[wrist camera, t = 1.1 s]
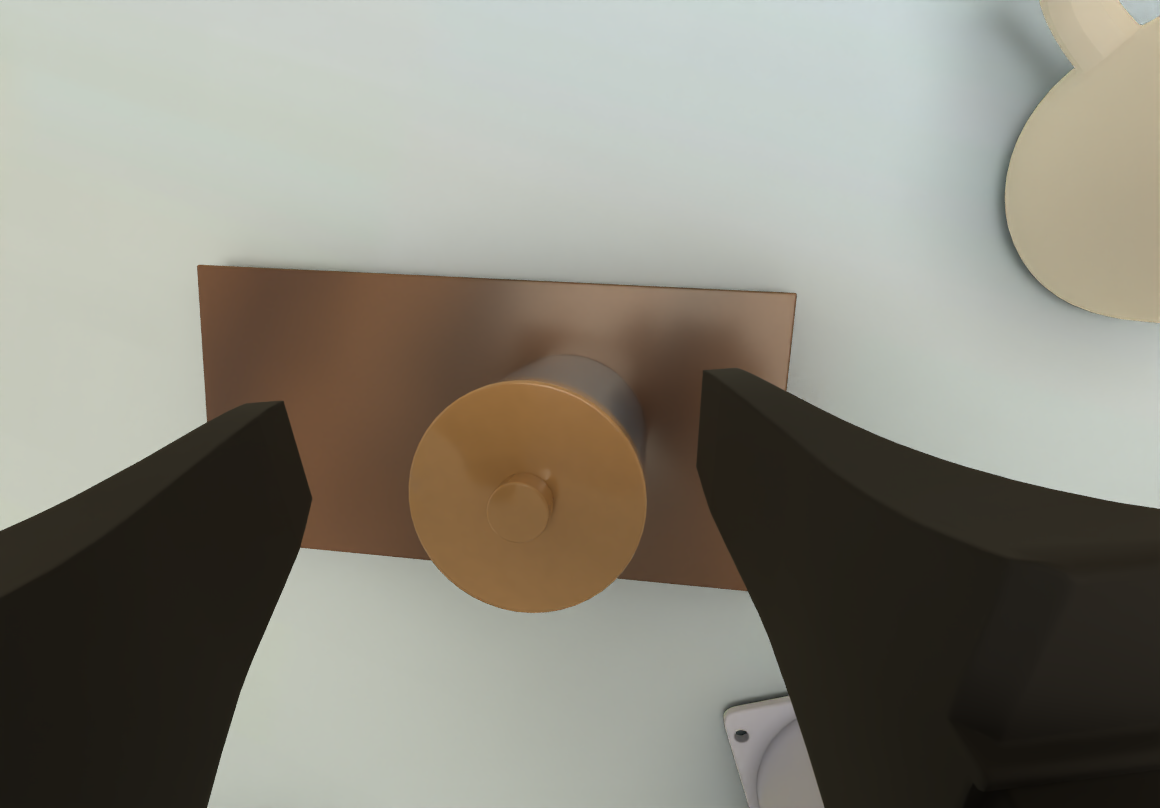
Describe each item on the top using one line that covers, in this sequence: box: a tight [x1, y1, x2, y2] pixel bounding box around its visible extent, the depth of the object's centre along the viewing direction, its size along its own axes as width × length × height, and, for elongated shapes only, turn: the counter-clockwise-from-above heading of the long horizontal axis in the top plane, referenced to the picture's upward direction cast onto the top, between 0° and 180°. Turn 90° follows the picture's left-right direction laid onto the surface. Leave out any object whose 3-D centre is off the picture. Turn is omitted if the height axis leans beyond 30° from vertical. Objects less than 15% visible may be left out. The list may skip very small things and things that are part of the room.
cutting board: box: [197, 265, 797, 591], centre depth 22 cm, size 20×10×2 cm, turn 87°
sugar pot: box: [409, 354, 647, 613], centre depth 17 cm, size 6×6×8 cm
